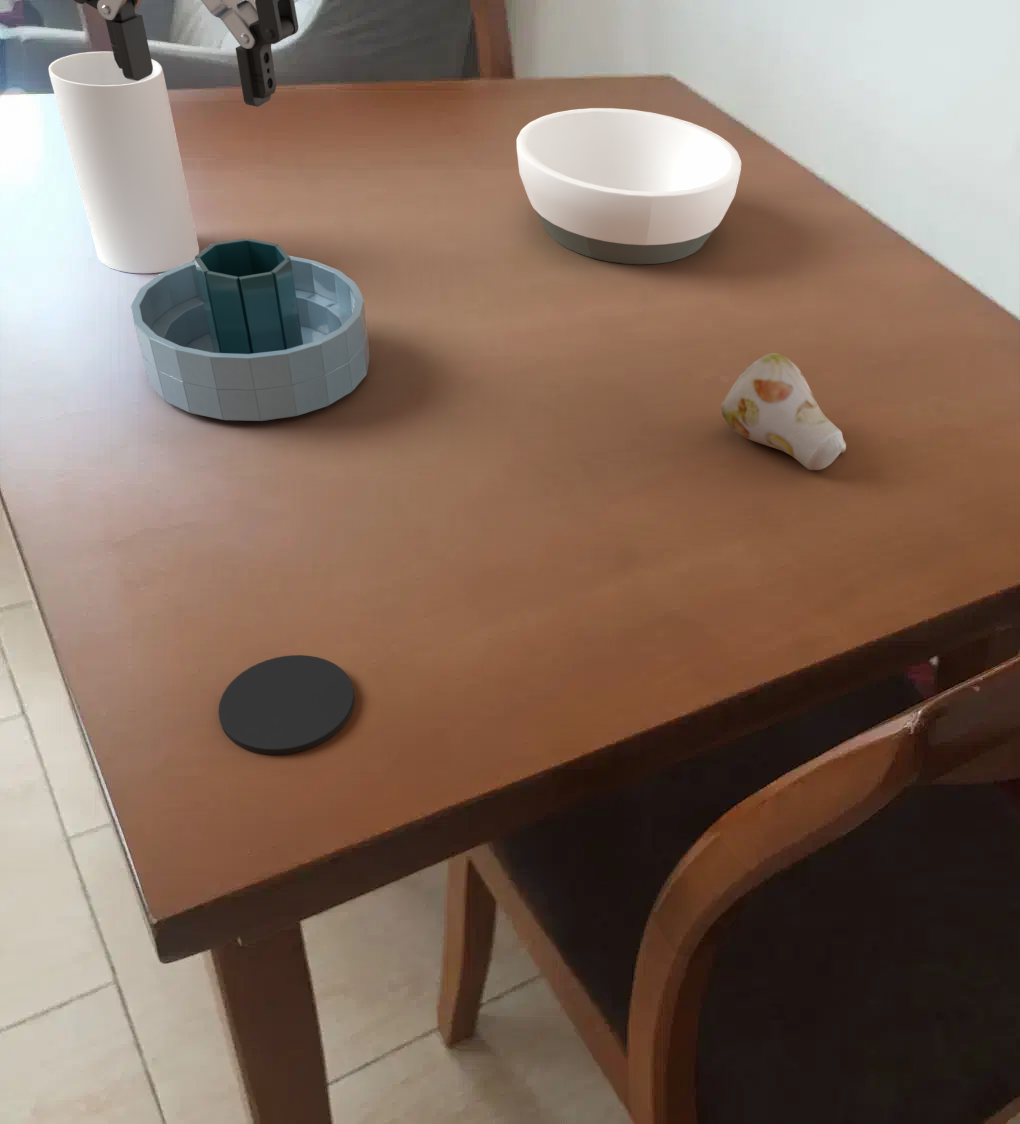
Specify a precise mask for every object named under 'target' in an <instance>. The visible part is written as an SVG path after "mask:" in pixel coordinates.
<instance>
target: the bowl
mask: <svg viewBox="0 0 1020 1124" xmlns="http://www.w3.org/2000/svg"><path fill="white" fill-rule="evenodd" d="M515 142H516V155H517V164H518V174H519V176H520V179H521V182H522V185H523V188H524V190H525V193H526V195H527V199H528V201H529V202H530V204H531V207H532V208H533V209H534V211H535V213H536V215H537V216H538V218H539V220H540V222H541V223H542V225H543V226H544V228H545V230H546V232H547V234H548V235H549V236H550V237H551V238H552V239H553V240H554V241H555V242H556V243H558V244H560V245H561V246H563V247H564V248H566V249H568V250H570V251H573V252H575V253H577V254H578V255H579V254H580V255H582V256H585V257H588V258H591V259H596V260H600V261H603V262H604V261H605V262H608V263H609V262H611V263H617V264H624V265H627V264H628V265H654V264H655V265H657V264H663V263H670V262H674V261H678V260H681V259H685V258H687V257H689V256H691V255H694V254H695V253H696V252H697V251H699V250H700V249H701V248H702V247H703V246H704V244H705V243H706V241H707V240H708V239H709V238H710V236H711V235H712V234H713V233H714V231H715V230H717V229H716V228H717V227H718V226H719V225H720V224H721V222H722V220H723V219H724V217H725V216H726V213H727V212H728V210H729V208H730V206H731V204H732V202H733V200H734V198H735V197H736V193H737V188H738V184H739V180H740V176H741V171H742V160H741V158H740V155H739V152H738V150H736V148H735V147H734V146H733V145H732V144H731V143H730V142H729V141H727V140H726V139H724V138H723V137H722V136H721V135H718V134H717V133H715V132H714V131H711V130H710V129H708V128H706V127H703V126H702V125H701V126H700V125H698V124H695V123H693V122H690V121H687V120H683V119H680V118H677V117H673V116H669V115H666V114H661V113H655V112H651V111H643V110H637V109H628V108H627V109H626V108H616V107H615V108H614V107H590V108H589V107H588V108H578V109H577V108H575V109H568V110H563V111H562V110H561V111H556V112H553V113H549V114H546V115H543V116H540V117H538V118H536V119H534V120H532V121H530V122H529V123H527V124H526V125H525V126H524V127H522V128H521V130H520V131H519V134H518V135H517V138H516V141H515Z"/></svg>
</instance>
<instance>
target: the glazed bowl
mask: <svg viewBox="0 0 1020 1124" xmlns="http://www.w3.org/2000/svg"><path fill="white" fill-rule="evenodd" d="M287 255H288V256H289V257H290V258H291V265H292V272H293V279H294V285H295V292H296V299H297V306H298V313H299V319H300V326H301V333H302V340H303V345H300V346H297V347H293V348H290V349H286V350H279V351H271V352H262V353H254V354H233V353H214V351H213V346H212V341H211V337H210V332H209V327H208V322H207V317H206V312H205V308H204V303H203V298H202V293H201V288H200V283H199V279H198V274H197V269H196V264H195V260H193V261H192V262H189V263H185V264H183V265H180V266H178V267H176V268H173V269H171V270H168V271H165V272H160V273H159V274H157V275H156V276H155V277H154V278H152V279H150V280H149V281H148V282H147V283H146V284H144V285H143V286H142V287H140V289H138V292H137V293H136V295H135V298H134V299H133V301H132V303H131V305H130V308H131V314H132V320H133V326H134V329H135V333H136V337H137V339H138V345H139V348H140V352H141V356H142V357H141V358H142V361H143V364H144V369H145V372H146V376H147V380H148V384H149V386H150V388H152V389H153V390H154V392H156V393H157V395H159V397H160V398H161V399H162V400H163V401H164V402H166V403H168V404H171V405H173V406H175V408H179V409H181V410H182V411H185V412H187V413H189V414H193V415H198V416H203V417H208V418H213V419H216V420H217V419H218V420H222V421H243V422H244V421H248V422H263V421H271V420H277V419H285V418H292V417H298V416H301V415H304V414H308V413H311V412H313V411H317V410H319V409H323V408H326V407H329V406H330V405H332V404H333V403H335V402H337V401H339V400H340V399H342V398H344V397H346V396H347V395H349V394H351V393H352V392H353V391H354V390H356V388H357V387H358V386H359V384H360V383H362V381H363V380H364V378H365V377H367V375H368V370H369V364H370V359H371V357H370V356H371V355H370V346H369V338H368V337H369V336H368V329H367V327H368V326H367V319H366V309H365V300H364V299H365V298H364V296H363V294H362V293H361V291H360V288H359V286H358V284H357V283H356V281H354V280H352V279H351V278H350V277H349V276H348V275H346V274H345V273H344V272H342V271H341V270H339V269H337V268H334V267H332V266H329V265H326V264H324V263H322V262H319V261H317V260H314V259H308V258H304V257H298V256H293V255H289V254H287Z"/></svg>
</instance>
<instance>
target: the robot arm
mask: <svg viewBox="0 0 1020 1124" xmlns="http://www.w3.org/2000/svg"><path fill="white" fill-rule="evenodd" d="M73 1H74V2H75V3H77V4H80V5H83V4H87V5H89V6H90V7H92V8H94V9H95V10H97V11H98V13H99V15H100V16H101V17H102V18H103V19H104V20H105V24H106V28H107V32H108V37H109V41H110V44H111V45H110V46H111V50H112V52H113V55H114V59H115V61H116V63H117V65H118V67H119V68H121V69H122V71H123V75H124V77H125V78H127V79H131V80H136V81H139V80H141V79H143V78H145V77H147V76H149V75H151V74H152V71H153V65H152V61H151V59H152V55H151V52H150V47H149V43H148V38H147V32H146V27H145V23H144V18H143V14H139V13H136V11H137V10H138V8H139V6H140V5H141V3H142V1H143V0H73ZM200 1H201V2H202V3H203V5H204V6H205V8H206V9H207V10H208V12H209V13H210V14H211V15H212V16H214V17H215V18H218V19H220V21H222V23H223V24H224V25H225V27H226V28H227V30H228V32H230V33H231V35H232V36H233V37H234V39H235V40H236V42H237V43H238V44H239V45H238V46H237V47H235V53H236V59H237V66H238V74H239V78H240V84H241V90H242V96H243V97H242V98H243V101H244V103H245V105H247V106H252V107H256V108H258V107H260V106H262V105H264V104H266V103H267V102H269V101H270V100H271V98H272V95H274V94H275V93H276V89H277V79H276V73H275V67H274V59H273V51H272V45H275V44H278V43H280V42H281V41H283V40H284V39H286V38H289V37H291V36H293V35H295V34H297V33H298V32H299V22H298V21H299V20H298V16H297V11H296V5H295V0H200Z"/></svg>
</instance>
